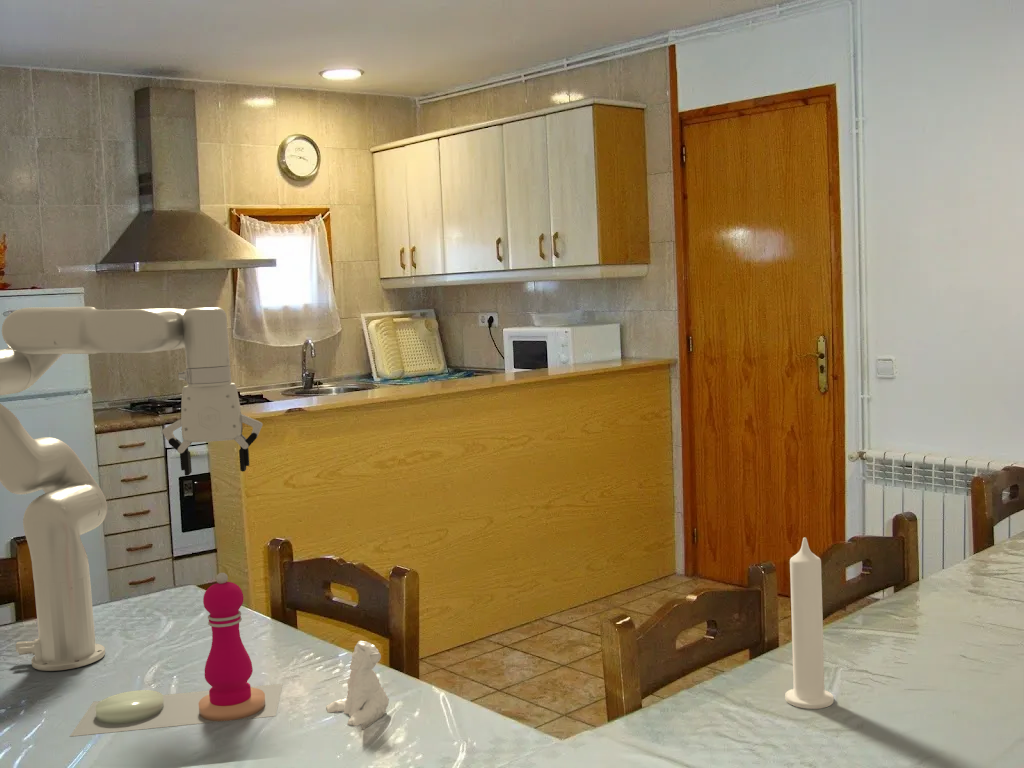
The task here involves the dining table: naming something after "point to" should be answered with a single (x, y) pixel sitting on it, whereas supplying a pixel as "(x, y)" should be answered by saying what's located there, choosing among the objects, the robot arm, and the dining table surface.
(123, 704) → the pale green domed disc
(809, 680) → the candle
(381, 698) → the sitting furry creature
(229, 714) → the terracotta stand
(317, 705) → the dining table surface
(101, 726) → the board
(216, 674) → the pepper mill
